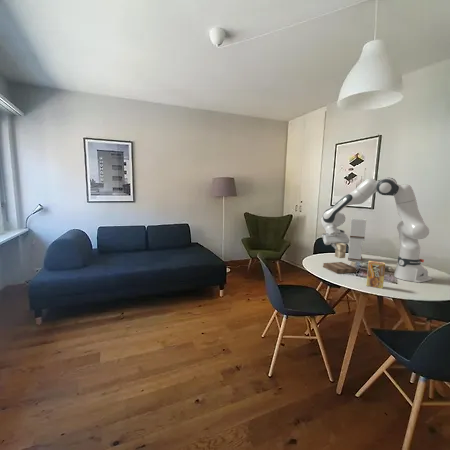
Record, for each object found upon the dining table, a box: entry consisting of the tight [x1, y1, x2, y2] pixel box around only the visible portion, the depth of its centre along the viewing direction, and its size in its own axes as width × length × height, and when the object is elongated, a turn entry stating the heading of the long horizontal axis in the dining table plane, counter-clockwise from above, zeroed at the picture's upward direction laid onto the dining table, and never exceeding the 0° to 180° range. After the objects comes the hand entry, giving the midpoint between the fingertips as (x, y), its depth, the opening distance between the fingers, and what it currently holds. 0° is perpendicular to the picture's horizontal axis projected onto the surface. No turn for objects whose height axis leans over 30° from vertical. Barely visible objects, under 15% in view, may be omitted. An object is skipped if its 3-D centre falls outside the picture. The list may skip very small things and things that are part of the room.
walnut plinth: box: [322, 261, 357, 274], centre depth 191 cm, size 16×16×3 cm
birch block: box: [334, 243, 347, 259], centre depth 190 cm, size 5×5×10 cm
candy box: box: [366, 260, 386, 289], centre depth 158 cm, size 9×4×15 cm, turn 62°
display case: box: [347, 217, 367, 263], centre depth 217 cm, size 11×11×35 cm
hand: (340, 248), depth 190 cm, fingers closed on birch block, 5 cm apart
